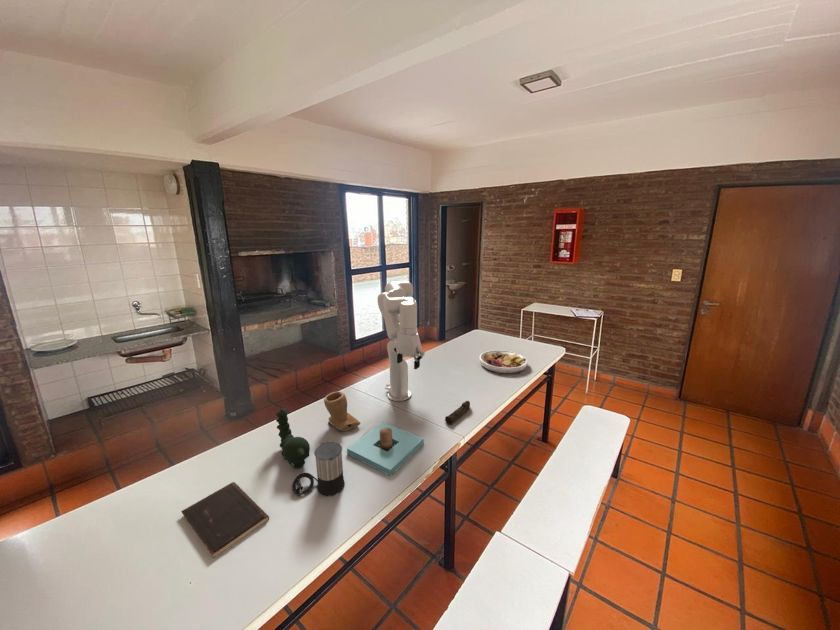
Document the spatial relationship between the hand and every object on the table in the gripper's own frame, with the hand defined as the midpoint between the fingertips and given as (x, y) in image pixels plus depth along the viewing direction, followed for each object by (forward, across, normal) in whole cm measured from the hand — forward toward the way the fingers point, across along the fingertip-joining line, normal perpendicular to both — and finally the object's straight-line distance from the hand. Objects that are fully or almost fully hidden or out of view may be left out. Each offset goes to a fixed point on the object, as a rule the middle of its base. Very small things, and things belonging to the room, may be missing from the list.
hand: (408, 365), depth 150 cm
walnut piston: (+26, +7, -24) cm, 36 cm away
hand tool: (+27, +19, +15) cm, 36 cm away
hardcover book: (+26, -11, -78) cm, 83 cm away
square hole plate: (+26, +7, -24) cm, 36 cm away
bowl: (+29, +13, +83) cm, 89 cm away
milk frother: (+25, +2, -53) cm, 59 cm away
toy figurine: (+26, -19, -49) cm, 59 cm away
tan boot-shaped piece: (+27, -21, -23) cm, 41 cm away
